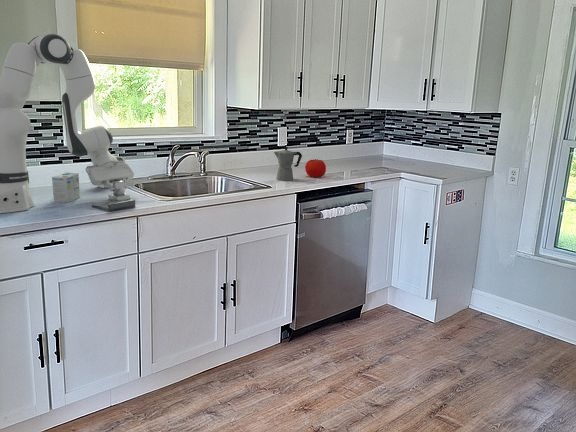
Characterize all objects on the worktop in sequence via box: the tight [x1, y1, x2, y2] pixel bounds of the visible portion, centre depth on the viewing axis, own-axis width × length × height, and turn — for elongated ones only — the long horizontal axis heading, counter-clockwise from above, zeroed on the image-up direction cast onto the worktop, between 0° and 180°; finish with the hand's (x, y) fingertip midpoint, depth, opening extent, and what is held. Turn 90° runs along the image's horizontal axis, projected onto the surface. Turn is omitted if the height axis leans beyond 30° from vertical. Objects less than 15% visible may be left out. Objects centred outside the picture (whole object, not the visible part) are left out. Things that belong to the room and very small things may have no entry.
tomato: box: [304, 158, 327, 178], centre depth 302 cm, size 12×12×10 cm
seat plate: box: [92, 198, 136, 213], centre depth 218 cm, size 12×12×3 cm
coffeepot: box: [273, 146, 303, 182], centre depth 290 cm, size 15×9×18 cm, turn 86°
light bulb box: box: [51, 172, 81, 204], centre depth 226 cm, size 11×7×11 cm, turn 174°
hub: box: [107, 179, 131, 201], centre depth 230 cm, size 6×6×8 cm
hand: (119, 189), depth 230 cm, fingers closed on hub, 5 cm apart
